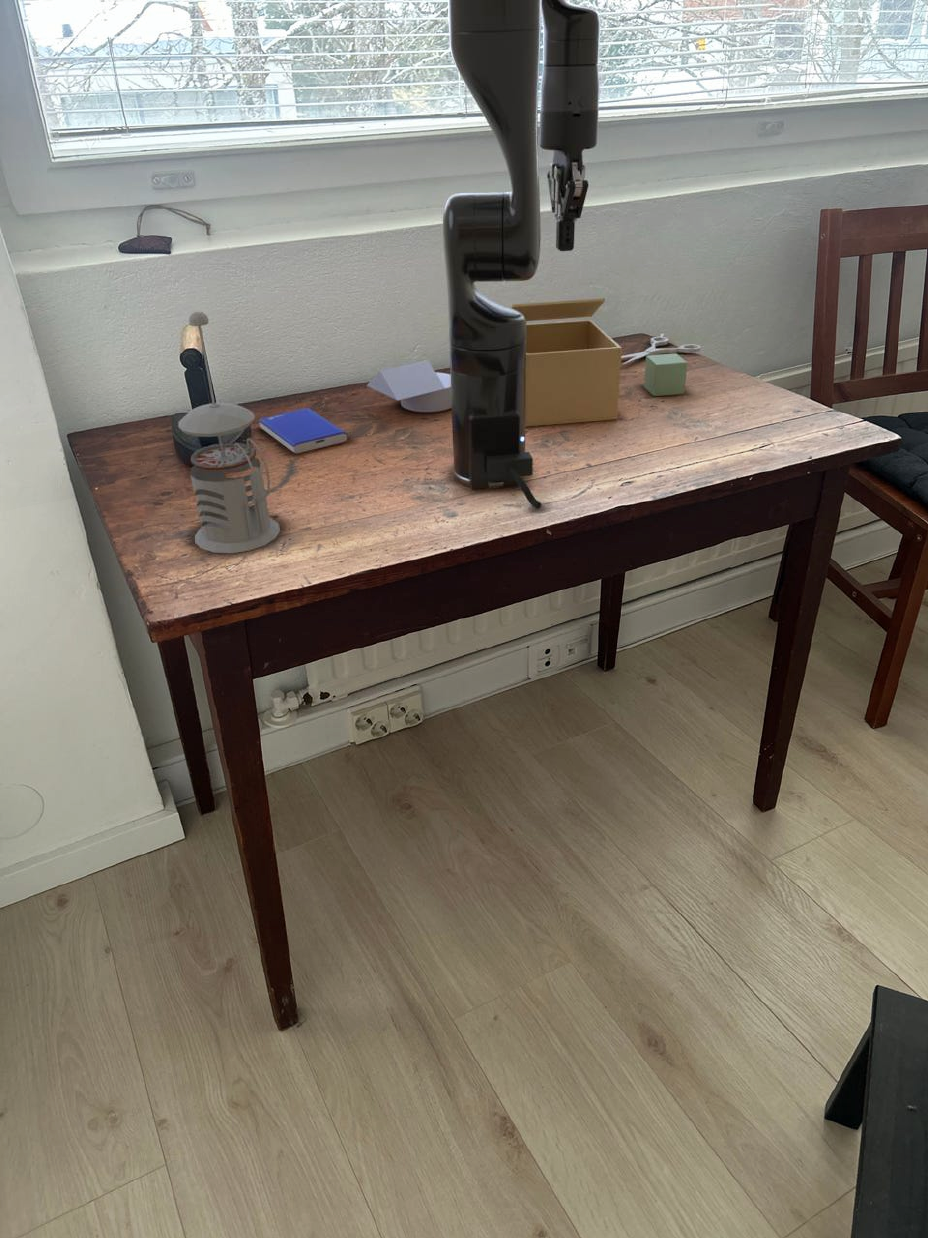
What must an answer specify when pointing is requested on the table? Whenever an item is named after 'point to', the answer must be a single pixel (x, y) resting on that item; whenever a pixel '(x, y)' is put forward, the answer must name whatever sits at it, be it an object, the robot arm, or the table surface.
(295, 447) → the hard drive
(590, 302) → the flap
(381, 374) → the wedge on round base
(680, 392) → the block
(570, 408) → the carton
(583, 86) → the robot arm
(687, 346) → the scissors
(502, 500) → the table surface
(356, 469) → the table surface
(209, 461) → the french press
